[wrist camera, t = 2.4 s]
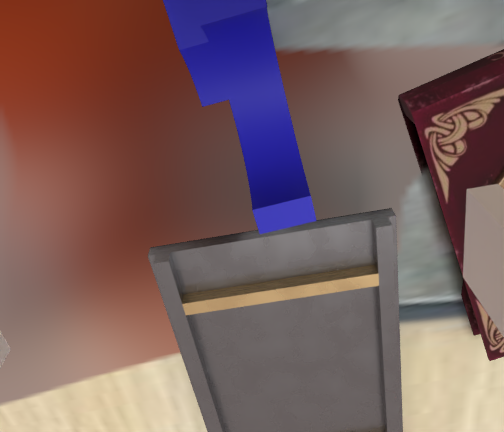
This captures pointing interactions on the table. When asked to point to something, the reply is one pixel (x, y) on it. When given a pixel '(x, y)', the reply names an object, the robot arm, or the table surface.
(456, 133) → the book
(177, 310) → the grey tray
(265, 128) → the blue long curved piece
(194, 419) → the table surface
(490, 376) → the table surface
